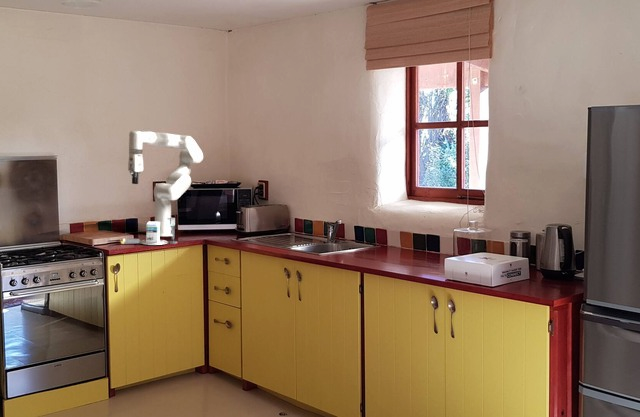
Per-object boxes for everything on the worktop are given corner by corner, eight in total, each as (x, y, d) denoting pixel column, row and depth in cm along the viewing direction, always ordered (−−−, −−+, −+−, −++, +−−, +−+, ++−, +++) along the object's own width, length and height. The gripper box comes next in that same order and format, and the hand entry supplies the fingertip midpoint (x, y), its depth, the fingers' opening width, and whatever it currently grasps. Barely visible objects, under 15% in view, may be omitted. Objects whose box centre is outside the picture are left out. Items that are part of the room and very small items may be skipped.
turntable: (117, 242, 422) (118, 236, 422) (163, 241, 433) (164, 235, 433) (123, 246, 408) (123, 241, 407) (171, 245, 419) (171, 239, 419)
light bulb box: (158, 243, 418) (158, 224, 417) (145, 242, 417) (146, 223, 416) (159, 240, 428) (160, 221, 427) (147, 239, 428) (148, 221, 427)
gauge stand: (169, 242, 430) (169, 217, 428) (177, 243, 428) (177, 217, 427) (166, 243, 426) (166, 217, 425) (174, 244, 425) (174, 218, 423)
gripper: (134, 152, 426) (134, 185, 428) (147, 152, 440) (147, 183, 442) (123, 152, 428) (122, 184, 430) (136, 151, 442) (135, 182, 444)
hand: (135, 183), depth 436 cm, fingers closed
